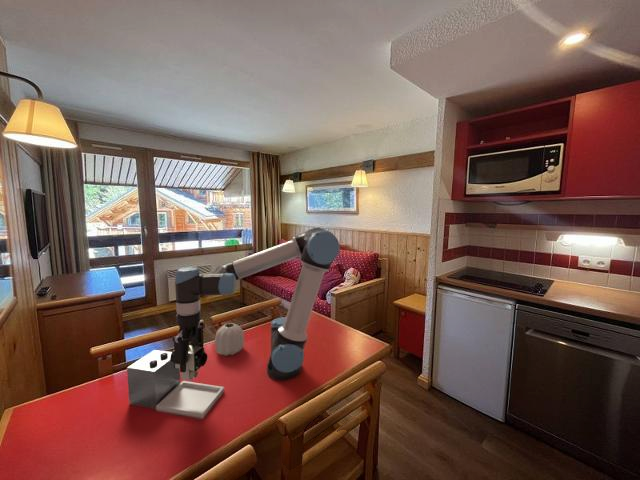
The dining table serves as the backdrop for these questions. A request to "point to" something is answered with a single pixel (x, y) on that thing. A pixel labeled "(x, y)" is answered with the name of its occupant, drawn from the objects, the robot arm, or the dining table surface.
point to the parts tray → (191, 399)
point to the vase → (229, 339)
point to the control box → (152, 379)
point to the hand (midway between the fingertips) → (190, 373)
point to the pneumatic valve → (193, 360)
